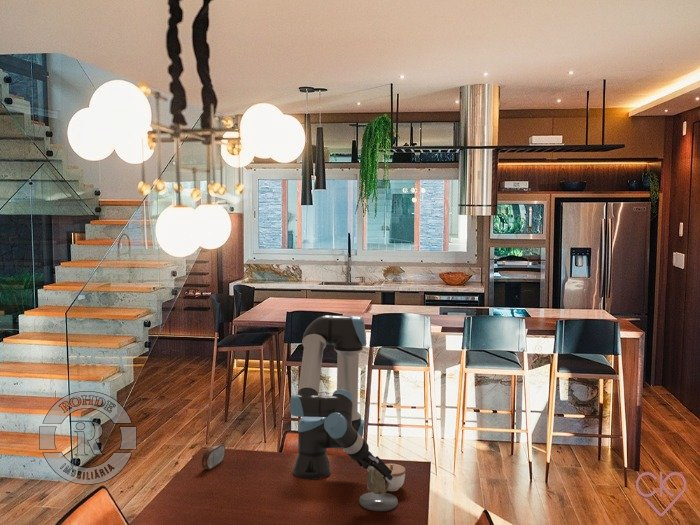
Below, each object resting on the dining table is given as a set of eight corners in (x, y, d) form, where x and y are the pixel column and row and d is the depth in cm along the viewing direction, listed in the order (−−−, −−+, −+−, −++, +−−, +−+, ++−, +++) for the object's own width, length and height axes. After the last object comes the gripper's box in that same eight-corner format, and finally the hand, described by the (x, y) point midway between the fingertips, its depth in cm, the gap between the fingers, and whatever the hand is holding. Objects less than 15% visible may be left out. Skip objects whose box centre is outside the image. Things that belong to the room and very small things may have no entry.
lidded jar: (403, 495, 247) (403, 470, 246) (375, 492, 249) (375, 468, 248) (406, 484, 257) (407, 460, 257) (379, 481, 260) (380, 458, 259)
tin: (220, 459, 280) (220, 440, 279) (226, 460, 279) (226, 441, 278) (200, 471, 266) (200, 451, 265) (207, 472, 265) (207, 452, 264)
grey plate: (351, 501, 240) (351, 498, 240) (378, 491, 249) (378, 488, 249) (378, 514, 230) (378, 511, 230) (405, 503, 239) (405, 500, 239)
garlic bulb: (371, 502, 235) (364, 478, 232) (366, 489, 243) (360, 466, 240) (396, 493, 236) (389, 469, 233) (390, 480, 244) (384, 457, 242)
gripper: (329, 447, 235) (360, 479, 247) (369, 462, 220) (400, 497, 232) (340, 429, 238) (371, 462, 250) (381, 444, 223) (411, 478, 235)
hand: (385, 479), depth 241 cm, fingers closed on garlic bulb, 7 cm apart
